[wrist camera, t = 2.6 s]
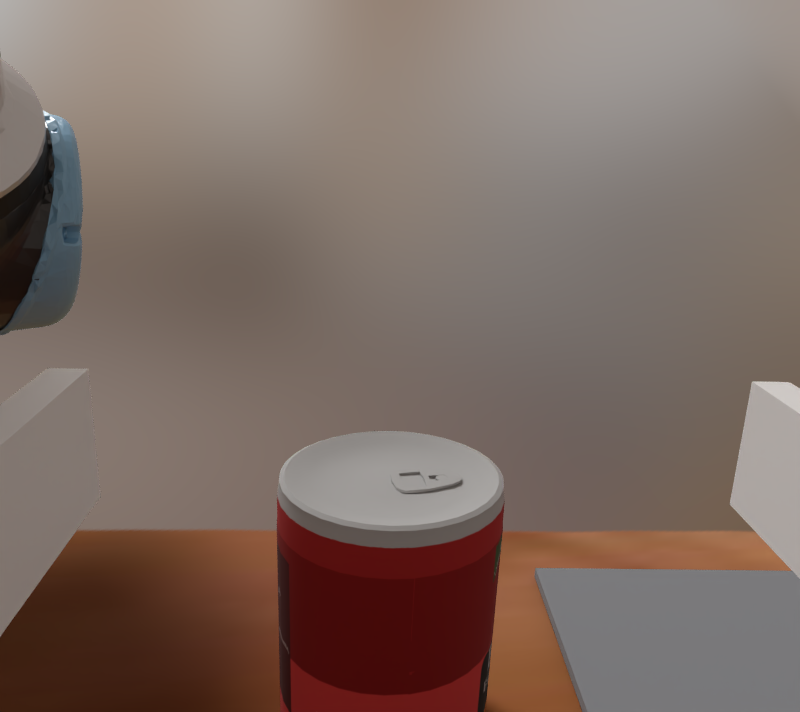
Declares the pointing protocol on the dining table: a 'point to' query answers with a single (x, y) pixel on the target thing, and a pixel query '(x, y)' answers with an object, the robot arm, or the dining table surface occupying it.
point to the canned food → (387, 574)
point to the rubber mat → (677, 638)
